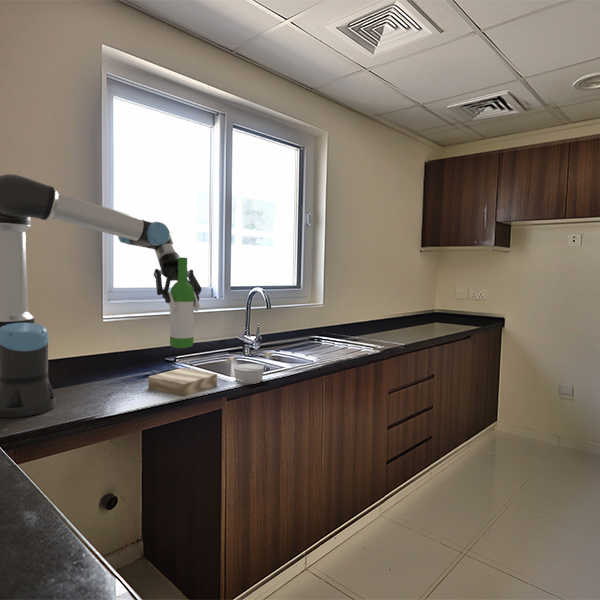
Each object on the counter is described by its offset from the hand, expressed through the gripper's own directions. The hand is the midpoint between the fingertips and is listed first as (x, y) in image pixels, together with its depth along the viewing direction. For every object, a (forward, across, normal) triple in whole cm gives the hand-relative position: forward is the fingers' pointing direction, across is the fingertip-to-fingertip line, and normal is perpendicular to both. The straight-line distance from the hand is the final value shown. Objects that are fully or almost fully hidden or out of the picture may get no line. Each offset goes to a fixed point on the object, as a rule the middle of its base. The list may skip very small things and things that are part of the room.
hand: (185, 309), depth 143 cm
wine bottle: (+7, 0, -12) cm, 14 cm away
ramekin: (+20, -24, -20) cm, 37 cm away
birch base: (+17, -1, -22) cm, 27 cm away
